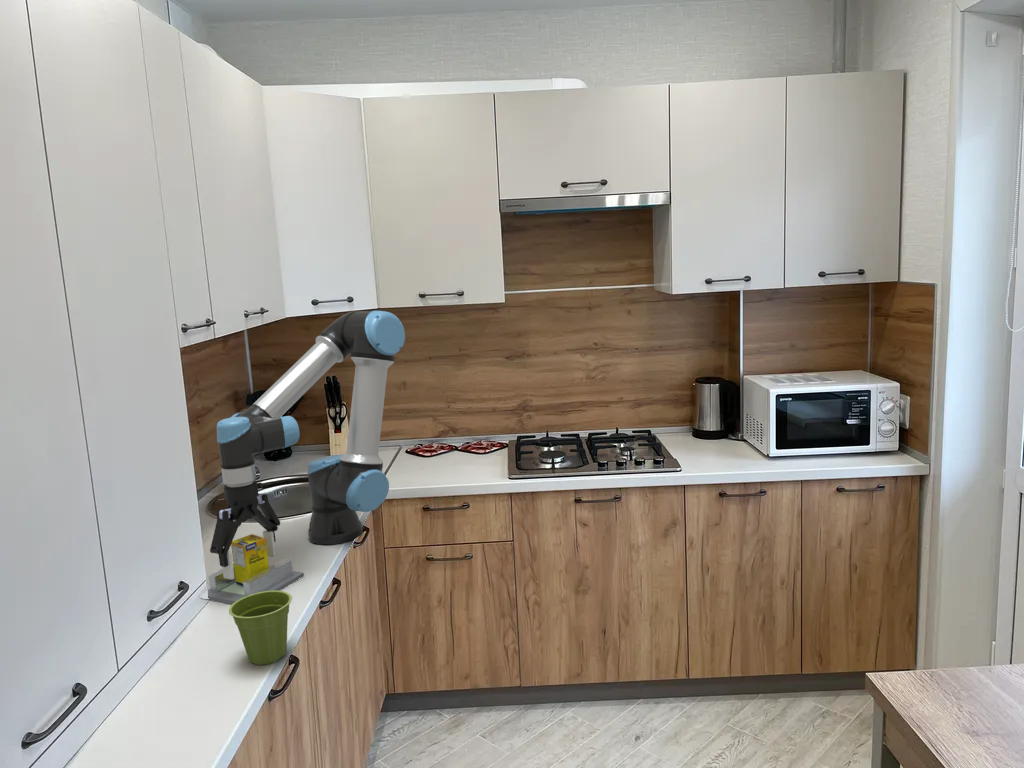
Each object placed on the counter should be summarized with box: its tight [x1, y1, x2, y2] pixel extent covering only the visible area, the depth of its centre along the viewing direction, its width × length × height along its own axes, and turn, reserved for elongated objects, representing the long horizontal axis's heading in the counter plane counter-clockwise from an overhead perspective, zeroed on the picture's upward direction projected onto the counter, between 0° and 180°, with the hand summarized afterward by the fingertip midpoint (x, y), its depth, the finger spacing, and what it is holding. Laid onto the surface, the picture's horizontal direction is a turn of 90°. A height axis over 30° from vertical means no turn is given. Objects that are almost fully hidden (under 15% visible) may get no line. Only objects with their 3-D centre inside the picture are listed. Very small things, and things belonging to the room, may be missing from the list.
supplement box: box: [230, 533, 270, 586], centre depth 180 cm, size 6×6×11 cm
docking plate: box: [207, 558, 305, 606], centre depth 180 cm, size 18×16×5 cm
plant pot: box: [228, 590, 293, 666], centre depth 146 cm, size 12×12×11 cm
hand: (250, 567), depth 180 cm, fingers open, 13 cm apart
